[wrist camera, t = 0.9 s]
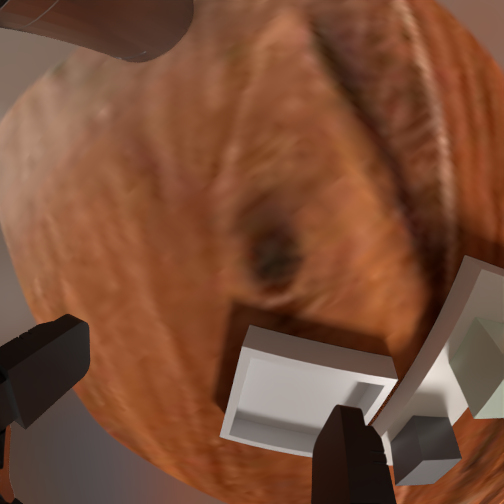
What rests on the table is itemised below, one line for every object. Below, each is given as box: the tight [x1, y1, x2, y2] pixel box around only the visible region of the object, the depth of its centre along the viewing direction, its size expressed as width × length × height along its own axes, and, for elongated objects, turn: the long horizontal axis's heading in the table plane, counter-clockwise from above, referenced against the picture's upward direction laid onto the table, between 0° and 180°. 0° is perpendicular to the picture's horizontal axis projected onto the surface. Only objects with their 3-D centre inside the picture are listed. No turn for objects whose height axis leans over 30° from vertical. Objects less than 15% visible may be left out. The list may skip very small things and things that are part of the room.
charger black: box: [390, 415, 462, 486], centre depth 25 cm, size 5×5×9 cm
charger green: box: [449, 317, 504, 419], centre depth 20 cm, size 5×5×10 cm
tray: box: [220, 325, 398, 457], centre depth 30 cm, size 15×15×4 cm
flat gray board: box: [371, 255, 504, 465], centre depth 26 cm, size 28×9×4 cm, turn 168°
